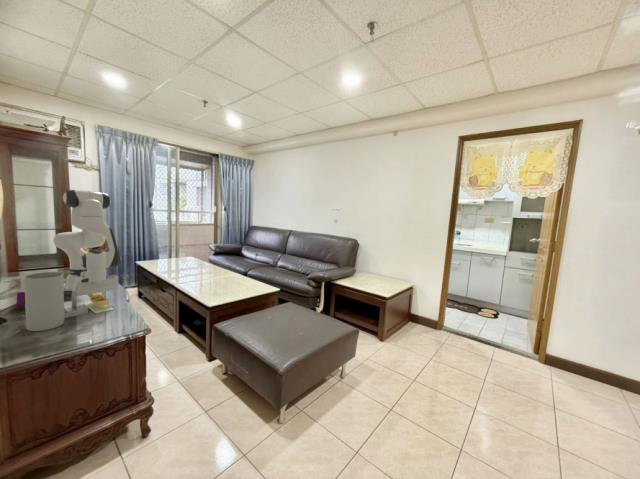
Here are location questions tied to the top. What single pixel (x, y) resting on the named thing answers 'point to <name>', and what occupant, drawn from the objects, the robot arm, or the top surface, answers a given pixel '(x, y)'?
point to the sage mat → (98, 308)
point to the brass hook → (99, 300)
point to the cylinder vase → (44, 300)
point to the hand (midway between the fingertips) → (96, 299)
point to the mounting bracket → (21, 300)
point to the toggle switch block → (74, 307)
